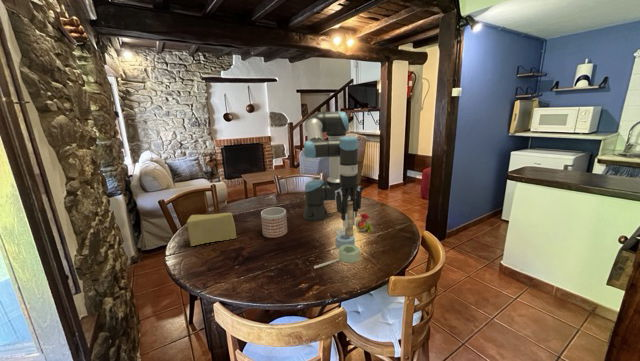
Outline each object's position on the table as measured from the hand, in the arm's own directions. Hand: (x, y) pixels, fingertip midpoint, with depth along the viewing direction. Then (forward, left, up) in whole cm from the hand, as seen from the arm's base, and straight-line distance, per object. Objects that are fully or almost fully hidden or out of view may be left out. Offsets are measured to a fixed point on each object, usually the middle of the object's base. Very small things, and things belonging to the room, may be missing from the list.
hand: (349, 225), depth 118 cm
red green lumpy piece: (-18, +22, -16) cm, 33 cm away
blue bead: (-11, +5, -16) cm, 20 cm away
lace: (0, -11, -16) cm, 19 cm away
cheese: (-50, -52, -16) cm, 74 cm away
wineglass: (-23, +12, -16) cm, 31 cm away
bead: (0, 0, -16) cm, 16 cm away
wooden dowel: (0, 0, -5) cm, 5 cm away
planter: (-43, -21, -16) cm, 50 cm away
